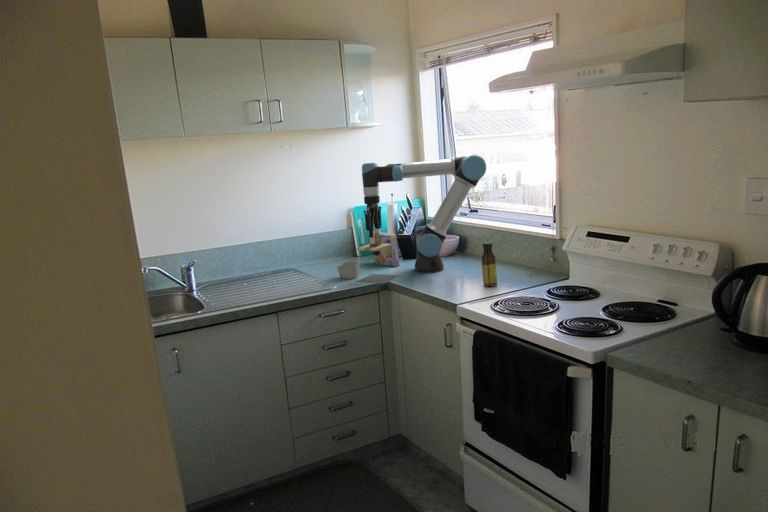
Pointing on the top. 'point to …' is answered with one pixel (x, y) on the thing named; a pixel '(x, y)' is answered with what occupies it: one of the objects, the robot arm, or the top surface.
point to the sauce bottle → (489, 265)
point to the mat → (378, 278)
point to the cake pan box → (387, 251)
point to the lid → (375, 245)
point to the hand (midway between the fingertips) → (375, 242)
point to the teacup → (348, 269)
